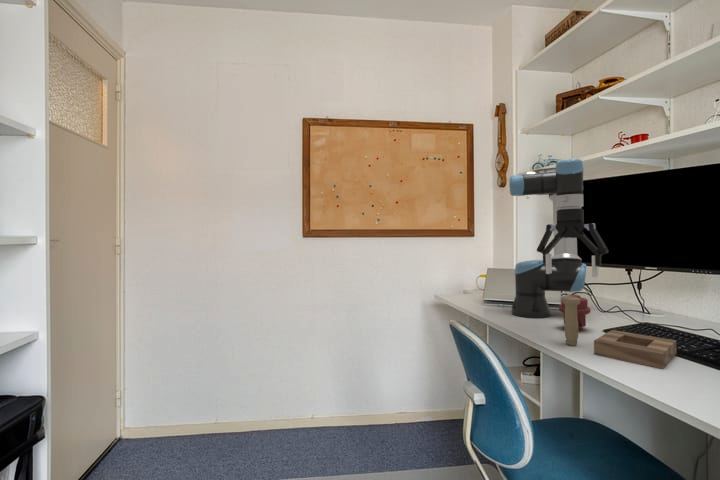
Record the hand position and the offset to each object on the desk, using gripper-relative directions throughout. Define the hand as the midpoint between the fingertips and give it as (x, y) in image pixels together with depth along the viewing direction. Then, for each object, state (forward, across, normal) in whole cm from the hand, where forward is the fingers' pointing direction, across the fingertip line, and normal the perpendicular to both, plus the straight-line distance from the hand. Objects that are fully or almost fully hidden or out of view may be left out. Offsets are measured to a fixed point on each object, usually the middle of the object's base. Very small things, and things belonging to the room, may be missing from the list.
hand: (570, 275), depth 117 cm
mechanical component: (+22, -6, +19) cm, 30 cm away
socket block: (+22, +16, +3) cm, 28 cm away
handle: (+23, 0, 0) cm, 23 cm away
